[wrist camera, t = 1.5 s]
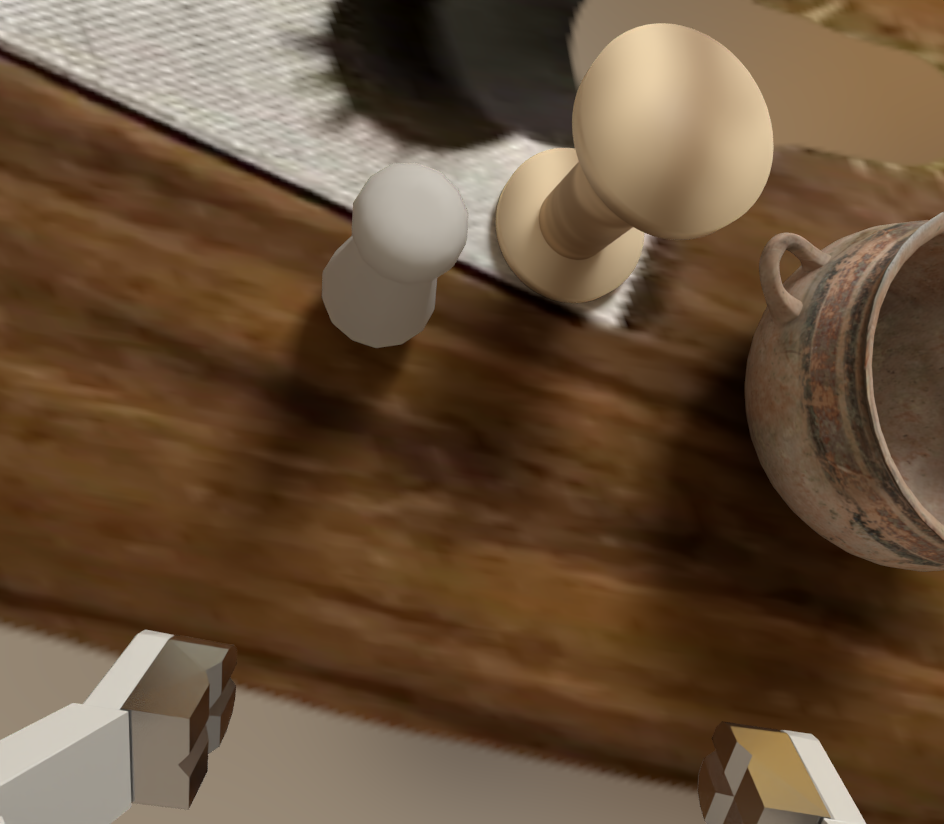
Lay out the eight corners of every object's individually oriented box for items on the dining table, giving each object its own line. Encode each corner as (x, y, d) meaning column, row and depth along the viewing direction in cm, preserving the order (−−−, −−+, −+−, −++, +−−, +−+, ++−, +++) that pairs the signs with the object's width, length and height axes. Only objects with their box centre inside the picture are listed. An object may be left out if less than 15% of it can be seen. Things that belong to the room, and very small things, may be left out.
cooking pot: (596, 414, 38) (728, 390, 26) (741, 177, 42) (912, 65, 30) (892, 635, 42) (1122, 699, 30) (999, 399, 46) (1238, 376, 34)
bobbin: (490, 292, 37) (576, 212, 25) (500, 142, 38) (587, 0, 26) (633, 312, 39) (771, 247, 28) (638, 170, 40) (775, 50, 29)
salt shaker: (329, 361, 34) (345, 300, 22) (311, 256, 35) (317, 136, 22) (435, 347, 36) (507, 282, 23) (417, 246, 36) (479, 129, 24)
